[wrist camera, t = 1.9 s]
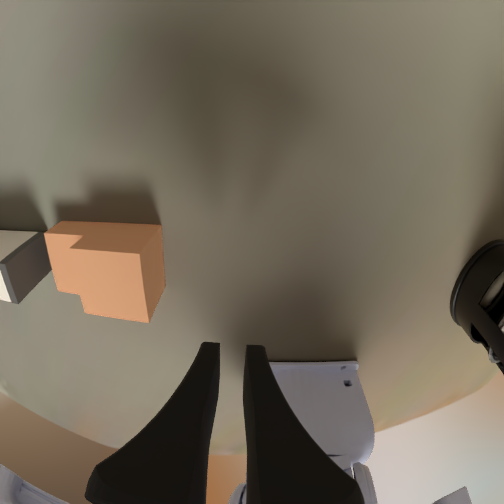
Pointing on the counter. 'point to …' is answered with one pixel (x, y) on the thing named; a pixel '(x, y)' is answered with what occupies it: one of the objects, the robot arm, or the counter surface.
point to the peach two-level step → (109, 266)
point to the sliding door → (21, 263)
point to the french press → (470, 295)
